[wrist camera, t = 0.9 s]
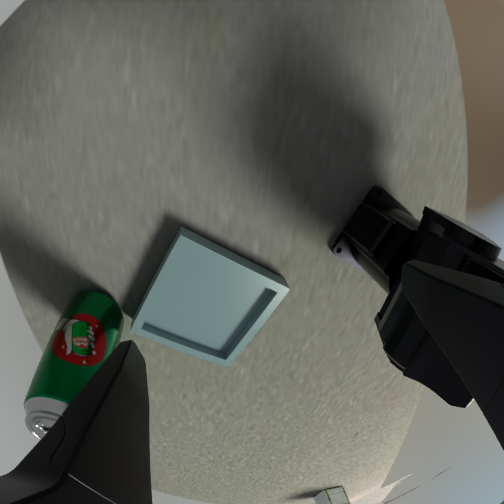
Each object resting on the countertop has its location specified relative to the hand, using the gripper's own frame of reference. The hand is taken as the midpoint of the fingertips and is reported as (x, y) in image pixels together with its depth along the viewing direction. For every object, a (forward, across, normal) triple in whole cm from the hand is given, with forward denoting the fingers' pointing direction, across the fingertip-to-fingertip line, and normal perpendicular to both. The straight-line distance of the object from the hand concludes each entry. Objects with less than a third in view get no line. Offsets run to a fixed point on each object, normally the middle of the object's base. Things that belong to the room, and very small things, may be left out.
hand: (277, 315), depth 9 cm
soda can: (+13, +13, +6) cm, 19 cm away
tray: (+13, +4, +7) cm, 15 cm away
